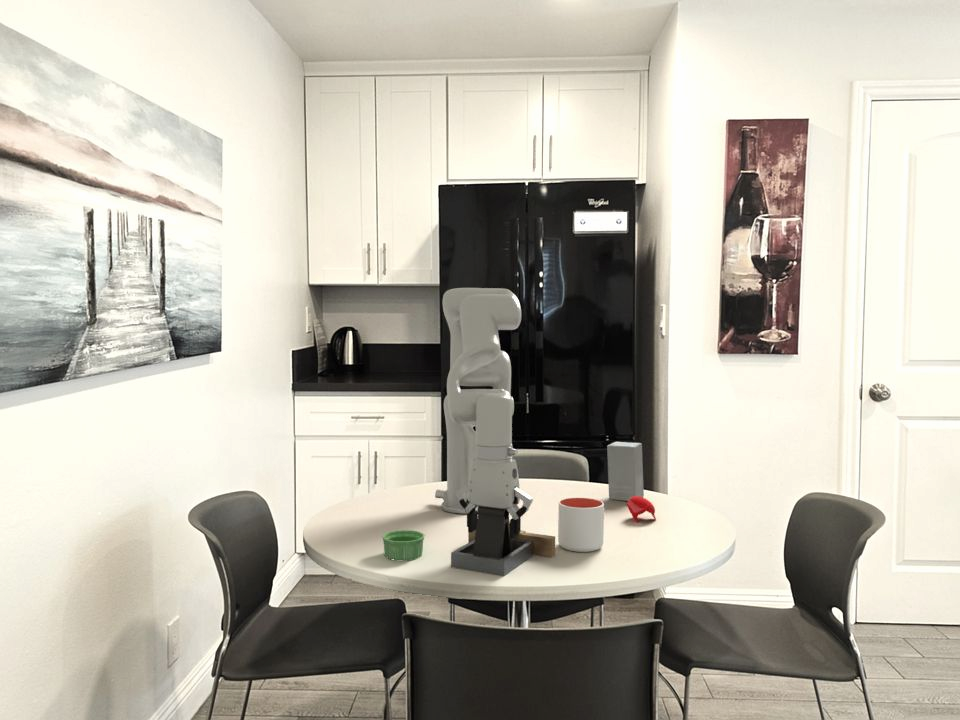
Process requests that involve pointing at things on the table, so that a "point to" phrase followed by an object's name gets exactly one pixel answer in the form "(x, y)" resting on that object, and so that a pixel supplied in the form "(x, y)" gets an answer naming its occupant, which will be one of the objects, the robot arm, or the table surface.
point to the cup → (581, 524)
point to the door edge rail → (542, 543)
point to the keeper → (491, 565)
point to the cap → (640, 507)
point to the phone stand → (493, 533)
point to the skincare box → (625, 470)
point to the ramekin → (403, 544)
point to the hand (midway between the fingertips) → (493, 533)
